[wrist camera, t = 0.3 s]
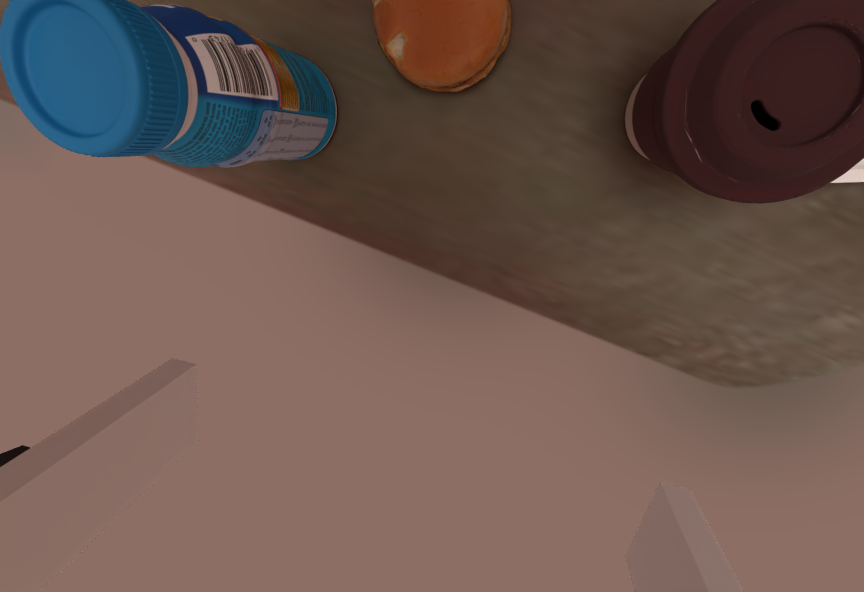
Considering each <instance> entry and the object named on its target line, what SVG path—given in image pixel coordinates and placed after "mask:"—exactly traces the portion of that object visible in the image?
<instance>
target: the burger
mask: <svg viewBox="0 0 864 592" xmlns="http://www.w3.org/2000/svg"><path fill="white" fill-rule="evenodd" d="M372 3H373V4H374V7H373V23H374V26H375V32H376V35H377V37H378V43H379V45H380V47H381V49H382V51H383V52H384V53H385V55H386V58H387V59H388V60H389V61H390V62H392V64H393V65H394V66H395V68H396V69H397V70H398V71H399V72H400V73H401V74H402V75H403V76H404V77H405V78H406V79H408V80H409V81H410V82H412V83H414V84H416V85H418V86H419V87H421V88H423V89H424V88H426V89H428V90H431V91H441V92H444V91H450V92H458V91H461V90H463V89H465V88H466V87H469V86H471V85H473V84H476V83H477V82H478V81H479V80H481V79H483V78H484V77H486V76H487V74H488V73H489V72H490V71H491V69H492V68H493V67H494V65H495V63H496V61H497V59H498V58H499V56H500V55H501V53H503V52H504V51H505V48H506V46H507V44H508V41H509V37H510V32H511V6H510V1H509V0H372Z"/></svg>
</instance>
